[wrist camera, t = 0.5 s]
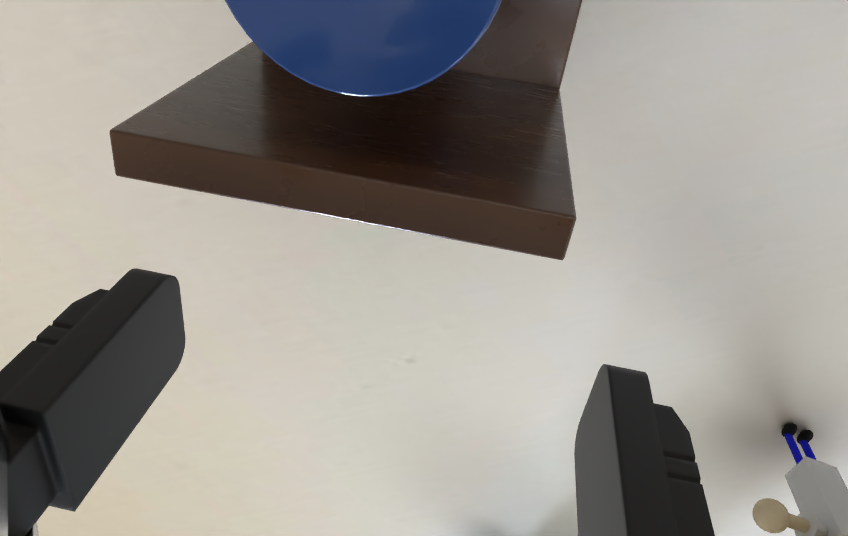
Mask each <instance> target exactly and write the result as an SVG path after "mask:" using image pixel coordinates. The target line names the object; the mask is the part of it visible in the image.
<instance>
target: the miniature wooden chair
mask: <svg viewBox="0 0 848 536" xmlns="http://www.w3.org/2000/svg"><path fill="white" fill-rule="evenodd" d="M581 3H582V0H502V1H501V4H500V6H499V9H498V11H497V12H496V14H495V16H494V18H493V20H492V22H491V24H490V26H489V27H488V29H487V30H486V32H485V33H484V34H483V36H482V37H481V39H480V40H479V41H478V43H477V44H476V45H475V46H474V47H473V49H472V50H471V51H470V52H469V53H468V54H467V55H466V56H465V57H464V58H463V59H462V60H461V61H460V62H459V63H457V64H456V65H455V66H454V67H453V68H451V69H450V70H449V71H447V72H446V73H444V74H443V75H441V76H439V77H438V78H436V79H435V80H433V81H431V82H429V83H427V84H424V85H422V86H420V87H418V88H416V89H412V90H409V91H405V92H402V93H399V94H393V95H386V96H372V97H361V96H352V95H344V94H340V93H336V92H332V91H328V90H325V89H322V88H320V87H317V86H315V85H312V84H309V83H308V82H306V81H304V80H302V79H300V78H298V77H296V76H294V75H293V74H291V73H290V72H288V71H287V70H285V69H284V68H282V67H281V66H280V65H278V64H277V63H275V62H274V61H273V60H272V59H271V58H270V57H269V56H267V55H266V54H265V53H264V52H263V51H262V50H261V49H260V48H259V47H258V46H257V45H256V44H255V43H254V42H251V43H250V44H248V45H246V46H245V47H243V48H241V49H240V50H238V51H237V52H235V53H233V54H232V55H230V56H229V57H227V58H225V59H224V60H222V61H221V62H219V63H217V64H216V65H214V66H212V67H211V68H209V69H208V70H206V71H204V72H203V73H201V74H200V75H198V76H196V77H195V78H193V79H191V80H190V81H188V82H187V83H185V84H183V85H182V86H180V87H179V88H177V89H175V90H174V91H172V92H171V93H169V94H167V95H166V96H164V97H162V98H161V99H159V100H158V101H156V102H154V103H153V104H151V105H150V106H148V107H146V108H145V109H143V110H142V111H140V112H138V113H137V114H135V115H133V116H132V117H130V118H129V119H127V120H125V121H124V122H122V123H121V124H119V125H117V126H116V127H114V128H112V129H111V130H110V138H111V146H112V153H113V160H114V167H115V174H116V175H117V176H121V177H126V178H131V179H137V180H142V181H147V182H152V183H158V184H163V185H168V186H174V187H179V188H184V189H189V190H195V191H200V192H205V193H210V194H216V195H221V196H226V197H231V198H237V199H242V200H247V201H253V202H258V203H263V204H268V205H274V206H279V207H284V208H289V209H295V210H300V211H305V212H311V213H316V214H321V215H326V216H332V217H337V218H342V219H347V220H353V221H358V222H363V223H368V224H374V225H379V226H384V227H390V228H395V229H400V230H405V231H411V232H416V233H421V234H426V235H432V236H437V237H442V238H447V239H453V240H458V241H463V242H469V243H474V244H479V245H484V246H490V247H495V248H500V249H505V250H511V251H516V252H521V253H526V254H532V255H537V256H542V257H548V258H553V259H558V260H563V259H564V258H565V254H566V251H567V248H568V244H569V241H570V238H571V235H572V231H573V228H574V225H575V221H576V212H575V205H574V197H573V189H572V182H571V174H570V167H569V159H568V151H567V144H566V136H565V128H564V121H563V113H562V106H561V98H560V90H559V89H560V85H561V81H562V78H563V74H564V70H565V66H566V62H567V58H568V54H569V50H570V46H571V42H572V38H573V34H574V30H575V26H576V22H577V19H578V15H579V11H580V7H581Z"/></svg>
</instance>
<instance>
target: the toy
mask: <svg viewBox="0 0 848 536" xmlns="http://www.w3.org/2000/svg"><path fill="white" fill-rule="evenodd" d="M796 431H797V426H796V424H794V423H789V424H787V425H785V426H784V428H783V429H782V435H783V437H785V439H786V441H787V443H788V445H789V448H790V450H791V452H792V454H793V457H794V459H795V461H796V463H797V465H796V466H795V467H794V468H793V469H792V470H791V471H789V472H788V473H787V474H786V475H785V477H786V480H787V482H788V484H789V487H790V489H791V492H792V494H793V496H794V499H795V501H796V504H797V506H798V508H799V511H800V514H799V515H798V516H795V515H792V514H790V513H788V511H787V509H786V507H785V506H784V505H783V504H782V503H780V502H779V501H777V500H774V499H770V498H768V499H762V500H759V501H758V502H757V503H756V504H755V506H754V508H753V518H754V520H755V522H756V524H757V525H758V526H759V527H760V528H761V529H763V530H764V531H767V532H770V533H779V532H782V531H784V530H785V529H786V528H787V527H789V528H792V529H794V531H795V535H796V536H848V489H847V487H846V485H845V483H844V481H843V479H842V477H841V475H840V473H839V471H838V469H837V468H836V467H834V466H831V465H828V464H826V463H823V462H820V461H817V460H816V458H815V456H814V454H813V452H812V450H811V447H810V445H809V443H808V442H809V441H810V440H811V439H812V438H813V432H812V431H811V430H803V431H802V432H800V433H799V434H798V436H797V442H798V443H799V444H801V446H802V449H803V451H804V453H805V455H806V456H805V457H804V458H803V457H802V455H801V453H800V451H799V449H798V447H797V444H796V442H795V440H794V438H793V436H792V435H794V434H795V433H796Z"/></svg>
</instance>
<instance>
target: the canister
mask: <svg viewBox="0 0 848 536" xmlns="http://www.w3.org/2000/svg"><path fill="white" fill-rule="evenodd" d="M225 1H226V3H227V5H228V7H229V8H230V10H231V12H232V13H233V15H234V17H235V19H236V20H237V21H238V23H239V24H240V25H241V27H242V28H243V29H244V31H245V32H246V34H247V35H248V36H249V37H250V38H251V39H252V40H253V42H254V43H255V44H256V45H257V46H258V47H259V48H260V49H261V50H262V51H263V52H264V53H265V54H266V55H267V56H269V57H270V58H271V59H272V60H273V61H274V62H275V63H277V64H278V65H280V66H281V67H282V68H284V69H285V70H287V71H288V72H290V73H291V74H293V75H294V76H296V77H298V78H300V79H302V80H304V81H306V82H308V83H309V84H312V85H315V86H317V87H320V88H322V89H325V90H328V91H332V92H336V93H340V94H344V95H352V96H361V97H372V96H386V95H393V94H399V93H402V92H405V91H409V90H412V89H416V88H418V87H420V86H422V85H424V84H427V83H429V82H431V81H433V80H435V79H436V78H438V77H439V76H441V75H443V74H444V73H446V72H447V71H449V70H450V69H451V68H453V67H454V66H455V65H456V64H457V63H459V62H460V61H461V60H462V59H463V58H464V57H465V56H466V55H467V54H468V53H469V52H470V51H471V50H472V49H473V47H474V46H475V45H476V44H477V43H478V41H479V40H480V39H481V37H482V36H483V34H484V33H485V32H486V30H487V29H488V27H489V26H490V24H491V22H492V20H493V18H494V16H495V14H496V12H497V11H498V9H499V6H500V4H501V1H502V0H225Z"/></svg>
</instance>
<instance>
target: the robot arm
mask: <svg viewBox="0 0 848 536" xmlns="http://www.w3.org/2000/svg"><path fill="white" fill-rule="evenodd" d="M184 348H185V331H184V322H183V313H182V304H181V295H180V287H179V282H178V280H177V278H176V277H174V276H171V275H166V274H161V273H157V272H152V271H147V270H142V269H132V270H130V271H129V272H127V273H126V274H125V275H124V276H123V277H122V278H121V279H120V280H119V281H118V282H117V283H116V284H115V285H114V286H113V287H112V288H111V289H110V290H109V291H108V290H103V289H99V290H97V291H95V292H93V293H91V294H89V295H87V296H85V297H83V298H81V299H79V300H78V301H76V302H74V303H72V304H71V305H70V306H69V307H68V308H67V309H66V310H65V311H64V312H63V313H62V314H60V315H59V316H58V317H57V318H56V319H55V320H54V321H53V325H52V326H50V325H49V326H48V327H47V328H46V329H45V330H44V331H42V332H41V333H40V334H39V335H38V336H37V339H36V341H32V342H31V343H30V344H29V345H28V346H27V347H26V348H24V349H23V350H22V351H21V352H20V353H19V354H18V355H17V356H16V357H15V358H14V359H13V360H12V361H11V362H10V363H9V364H8V365H7V366H5V367H4V368H3V369H2V370H1V371H0V536H39V532H38V526H37V523H36V521H37V520H38V519H39V518H40V516H41V515H42V514H43V512H44V511H45V510H46V508H47V507H48V506H53V507H57V508H61V509H66V510H70V511H74V512H75V510H76V509H77V507H78V506H79V505H80V503H81V502H82V501H83V499H84V498H85V496H86V495H87V494H88V492H89V491H90V489H91V488H92V487H93V485H94V484H95V482H96V481H97V480H98V478H99V477H100V475H101V474H102V473H103V471H104V470H105V469H106V467H107V466H108V464H109V463H110V462H111V460H112V459H113V457H114V456H115V455H116V453H117V452H118V450H119V449H120V448H121V446H122V445H123V444H124V442H125V441H126V439H127V438H128V437H129V435H130V434H131V432H132V431H133V430H134V428H135V427H136V425H137V424H138V423H139V421H140V420H141V418H142V417H143V416H144V414H145V413H146V412H147V410H148V409H149V407H150V406H151V405H152V403H153V402H154V400H155V399H156V398H157V396H158V395H159V393H160V392H161V391H162V389H163V388H164V387H165V385H166V384H167V382H168V381H169V380H170V378H171V377H172V375H173V374H174V373H175V371H176V370H177V368H178V366H179V364H180V362H181V359H182V356H183V353H184ZM575 476H576V498H577V519H578V536H715V535H714V531H713V527H712V523H711V519H710V515H709V510H708V506H707V502H706V498H705V494H704V490H703V486H702V484H700V479H701V478H700V474H699V470H698V466H697V463H695V454H694V450H693V446H692V442H691V438H690V433H689V431H688V430H687V428H686V427H685V425H684V424H683V423H682V421H681V420H680V418H679V417H678V415H677V414H676V413H675V411H674V410H673V408H672V407H668V406H664V405H659V404H654V403H653V399H652V394H651V389H650V384H649V379H648V376H647V374H646V373H645V372H641V371H636V370H631V369H626V368H621V367H616V366H611V365H606V364H603V365H602V366H601V368H600V370H599V372H598V375H597V377H596V380H595V382H594V385H593V388H592V390H591V393H590V396H589V398H588V401H587V404H586V406H585V409H584V411H583V414H582V417H581V419H580V422H579V426H578V430H577V435H576V441H575Z"/></svg>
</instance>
